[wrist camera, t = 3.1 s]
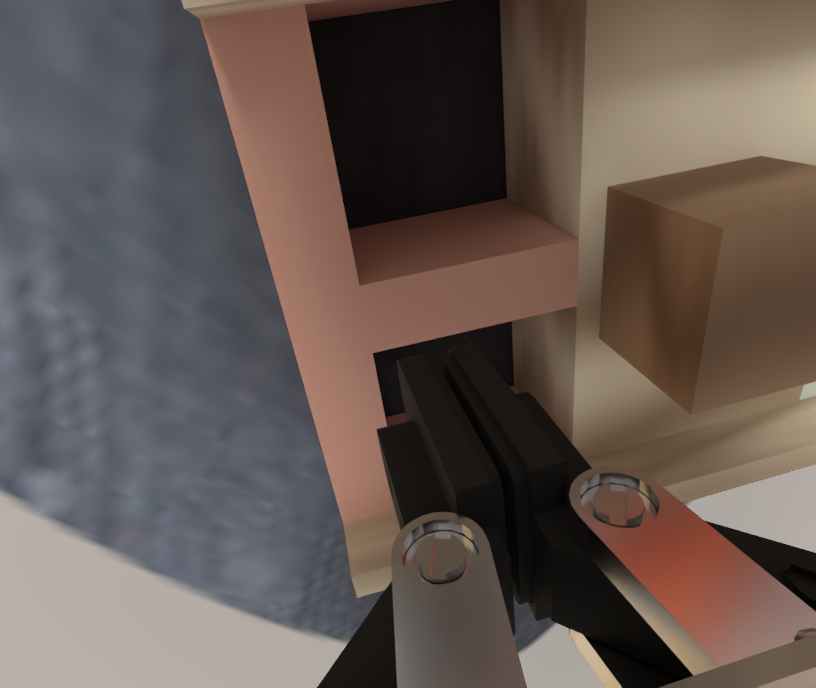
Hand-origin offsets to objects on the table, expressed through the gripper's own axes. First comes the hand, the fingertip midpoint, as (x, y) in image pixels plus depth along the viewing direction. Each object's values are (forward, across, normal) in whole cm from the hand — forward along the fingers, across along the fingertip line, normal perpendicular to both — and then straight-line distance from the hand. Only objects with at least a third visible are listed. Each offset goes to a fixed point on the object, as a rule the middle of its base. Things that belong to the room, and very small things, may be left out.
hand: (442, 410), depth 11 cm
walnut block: (+4, -8, -1) cm, 9 cm away
